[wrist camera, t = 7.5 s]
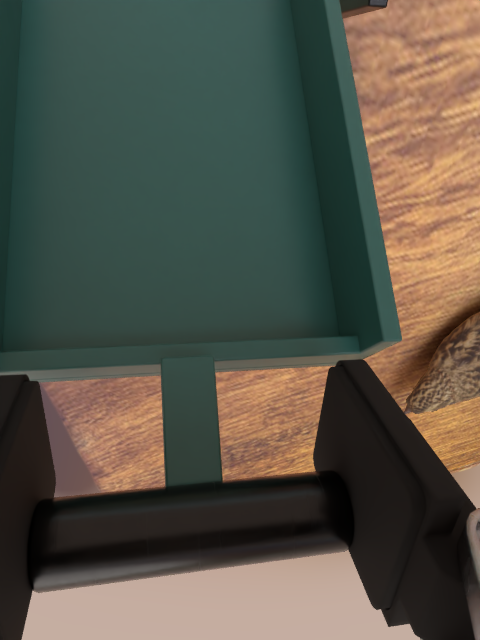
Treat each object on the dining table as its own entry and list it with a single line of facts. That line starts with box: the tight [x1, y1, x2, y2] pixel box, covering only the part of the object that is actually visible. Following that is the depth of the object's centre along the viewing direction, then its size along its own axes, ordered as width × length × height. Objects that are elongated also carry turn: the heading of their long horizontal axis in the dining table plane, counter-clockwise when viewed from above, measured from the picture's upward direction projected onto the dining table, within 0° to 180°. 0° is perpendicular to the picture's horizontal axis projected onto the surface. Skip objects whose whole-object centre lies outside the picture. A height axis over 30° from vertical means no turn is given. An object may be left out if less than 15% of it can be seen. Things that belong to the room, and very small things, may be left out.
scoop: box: [0, 0, 402, 593], centre depth 12 cm, size 19×10×4 cm
